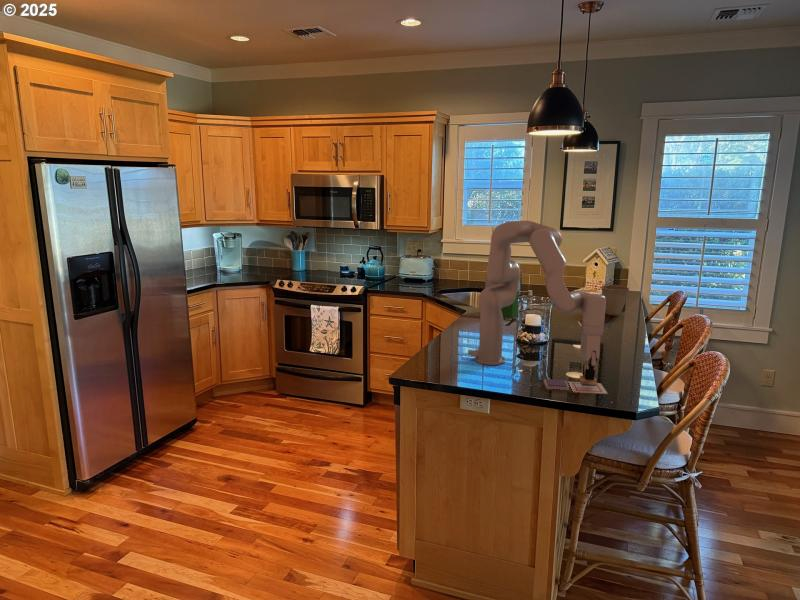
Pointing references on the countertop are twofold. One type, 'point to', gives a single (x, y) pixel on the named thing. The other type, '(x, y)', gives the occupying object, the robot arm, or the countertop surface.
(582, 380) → the stamp
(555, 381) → the ink pad
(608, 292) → the plant pot
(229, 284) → the countertop surface
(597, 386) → the note card
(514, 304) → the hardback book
